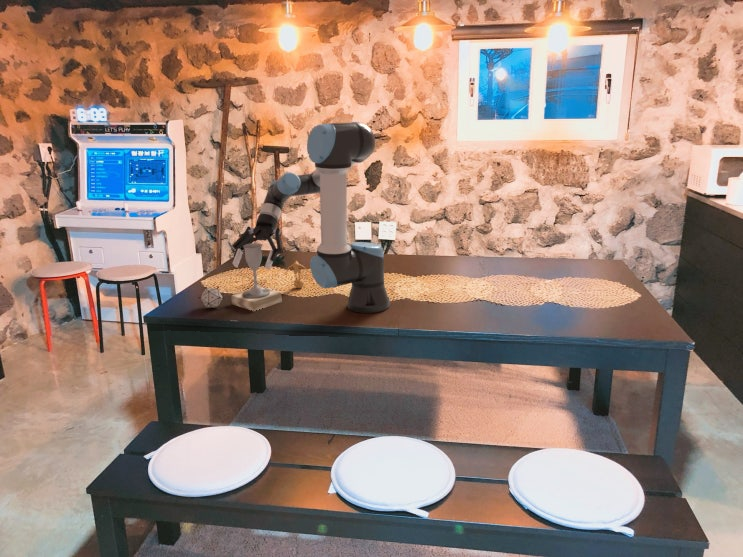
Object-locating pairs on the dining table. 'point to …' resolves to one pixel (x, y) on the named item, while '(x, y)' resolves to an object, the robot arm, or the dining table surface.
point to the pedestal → (256, 299)
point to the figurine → (298, 282)
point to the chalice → (254, 263)
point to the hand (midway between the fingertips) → (250, 267)
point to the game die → (211, 297)
